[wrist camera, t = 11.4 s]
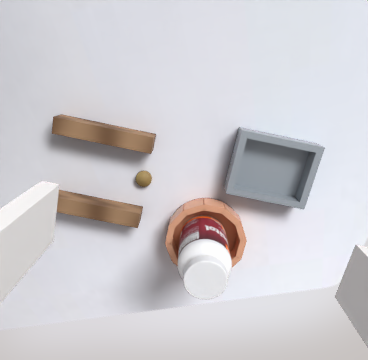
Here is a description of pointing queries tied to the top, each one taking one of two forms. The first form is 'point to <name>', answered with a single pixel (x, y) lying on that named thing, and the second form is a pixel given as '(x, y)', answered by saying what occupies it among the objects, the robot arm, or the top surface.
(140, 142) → the cradle
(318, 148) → the trough
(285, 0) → the top surface
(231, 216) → the terracotta round dish
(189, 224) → the pill bottle
